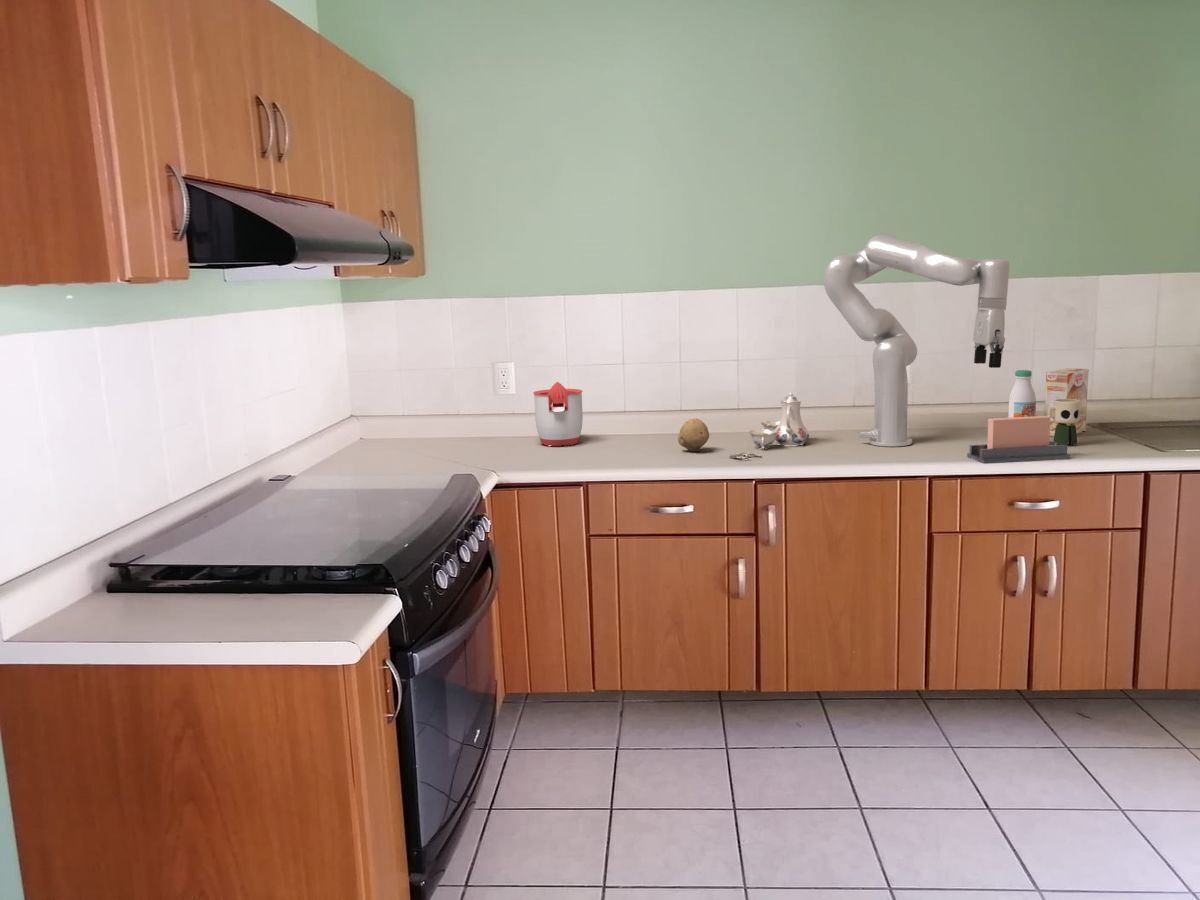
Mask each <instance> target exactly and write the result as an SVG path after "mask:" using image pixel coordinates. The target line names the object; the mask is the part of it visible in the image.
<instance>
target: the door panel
mask: <svg viewBox="0 0 1200 900" xmlns="http://www.w3.org/2000/svg"><path fill="white" fill-rule="evenodd" d="M987 421H988V422H987V444H988V445H987V449H990V448H1009V447H1028V446H1047V445H1049V441H1050V439H1051V438H1050V437H1051V436H1050V417H1047V416H1044V415H1037V416H1033V417H1013V418H1008V417H996V418H995V417H993V418H987Z"/></svg>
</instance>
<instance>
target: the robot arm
mask: <svg viewBox="0 0 1200 900" xmlns="http://www.w3.org/2000/svg"><path fill="white" fill-rule="evenodd" d="M864 247H865V248H863V249H861V250H859V251H858V252H856V253H853V254H842V255H838V256H835V257H833V259H831V260H830V262H829V263H828V264H827V266H826V268H825V271H824V275H823V287H824V289H825V293H826V295H827V296H828V298H829V300H830V301H831V302H832V304H833V305H834V307H835V308H836V309H837V310H838V311H839V313H840V314H841V316H842V317H843V318H844V319H845V321H846V322H847V323H848V326H850V327H851V329H852V330H853V331H854V333H855V334H856V336H858V338H859V339H861V340H863V341H865V342H874V344H875V347H874V349H873V353H872V365H873V373H874V375H873V376H874V414H873V415H874V416H873V417H874V418H873V419H874V422H873V423H874V425H873V426H874V427H871V428H870V430H868V431H858V433H857V437H858V438H859V439H862V438H863V439H864V438H865V439H868V444H870V445H872V446H878V447H904V446H910V445H912V444H913V439H912V438H910V437H908V398H909V394H908V393H909V391H908V390H909V389H908V387H909V382H908V381H909V380H908V373H907V372H908V370H907V367H908V366H910V365H911V364H913V363H914V361H916V358H917V355H918V347H917V344H916V343H915V341H914V340H913V339H914V338H912V337H911V336H910V334H909V333H908V331H906V329H905V328H904V326H903V325H902V324H901V323H900V321H898V319H897V318H896V317H895V315H893V314H892V313H891V312H890V311H888V310H887V309H884V308H880V307H879V308H875V307H874V306H873V305H872V304H871V303H870V301H869V300H868V299H867V297H866V296H865V295H864V294H863V292H862V291H861V290H859V288H857V287H856V285H855V284H854V283H859V282H862V281H865V280H866V279H868V278H871V277H872V276H873V275H876V274H877V273H879V272H881V271H882V270H884V269H887V268H889V269H894V270H898V271H901V272H905V273H909V274H911V275H915V276H919V277H923V278H926V279H930V280H934V281H936V282H937V281H938V282H941V283H944V284H948V285H952V286H958V287H959V286H961V287H963V286H971V285H978V295H977V307H976V309H977V311H976V316H975V322H974V328H973V336H972V341H973V343H974V344H975V345H974V359H973V363H974V364H977V365H978V364H983V365H984V364H986V362H987V346H989V349H990V351H991V352H990V353H989V359H988V367H989V368H990V369H991V368H995V369H997V368H999V369H1000V368H1001V367H1002V356H1003V355H1002V354H1003V353H1004V351H1003V349H1004V348H1005V346H1004V345H1005V342H1006V338H1005V323H1006V322H1005V311H1006V310H1007V301H1008V289H1009V279H1010V267H1011V265H1010V262H1009V260H1006V259H1003V258H1002V259H1001V258H1000V259H999V258H998V259H997V258H992V259H990V258H989V259H979V258H973V257H957V256H954V255H949V254H943V253H942V252H937V251H934V250H932V249H930V248H929V247H927V246H926V245H924V244H921V243H917V242H912V241H907V240H904V239H899V238H898V237H896V236H894V235H891V234H878V235H875V236H872V237H871V238H870V239H869V240H868V241H867V243H866V244H865V246H864Z"/></svg>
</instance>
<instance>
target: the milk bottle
mask: <svg viewBox="0 0 1200 900" xmlns="http://www.w3.org/2000/svg"><path fill="white" fill-rule="evenodd" d="M1032 373H1033V372H1032V370H1029V369H1021V370H1020V369H1017V370H1016V371H1014V378H1015V382H1014V385H1013V387H1012V389H1011V391H1010V394H1009V397H1008V412H1007V413H1008V414H1007V418H1013V417H1033V416H1036V415H1037V414H1036V411H1037V410H1036V409H1037V403H1036V402H1037V400H1036V399H1037V398H1036V393H1035V390H1034V388H1033V386H1032V381H1031V378H1032V375H1033V374H1032Z"/></svg>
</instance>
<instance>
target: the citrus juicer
mask: <svg viewBox="0 0 1200 900" xmlns="http://www.w3.org/2000/svg"><path fill="white" fill-rule="evenodd" d="M532 394H533V397H534V415H535V420H534V421H535V426H536V432H537V434H538V437H539V441H540V443H541V444H542V445H543V444H544V445H543V446H547V445H552V447H561V445H564V446H567V445H572V444H573V445H575V444H578V443H579V441H580V438H581V433H582V428H583V421H584V420H583V418H584V417H583V415H584V414H583V390H582V389H578V388H565V386H564V385H563V384H562V383H560V382H559V381H556V382H555V383H554V384H553V385H552V386H551V387H550V389H541V390H536V391H534V392H533V393H532ZM573 445H572V446H573Z"/></svg>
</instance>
